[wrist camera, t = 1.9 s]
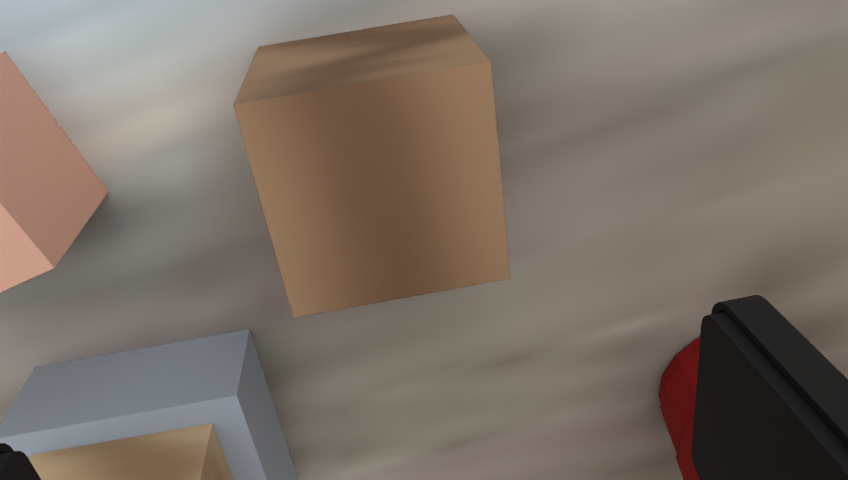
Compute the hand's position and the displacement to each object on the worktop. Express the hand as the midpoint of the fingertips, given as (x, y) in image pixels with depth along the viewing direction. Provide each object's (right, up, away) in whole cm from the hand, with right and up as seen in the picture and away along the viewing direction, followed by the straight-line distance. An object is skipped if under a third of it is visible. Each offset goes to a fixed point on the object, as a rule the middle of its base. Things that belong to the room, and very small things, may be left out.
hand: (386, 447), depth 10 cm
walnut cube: (-1, +7, +13) cm, 15 cm away
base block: (-9, -4, +18) cm, 21 cm away
